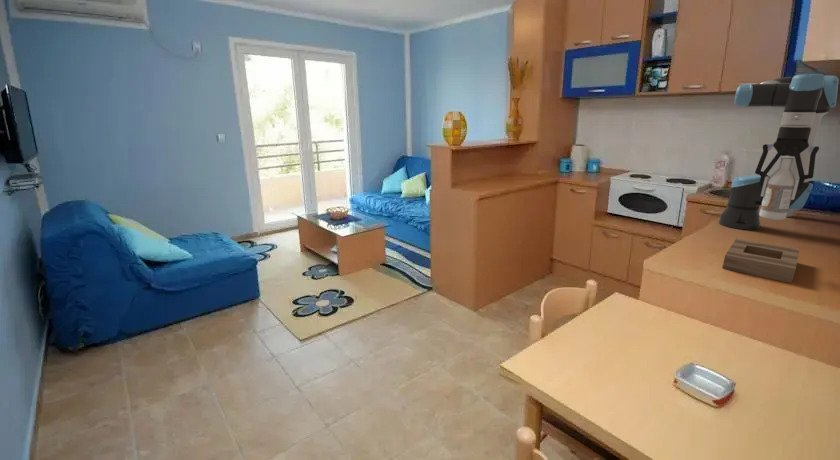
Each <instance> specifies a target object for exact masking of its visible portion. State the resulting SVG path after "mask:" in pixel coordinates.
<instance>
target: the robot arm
mask: <svg viewBox="0 0 840 460" xmlns="http://www.w3.org/2000/svg"><path fill="white" fill-rule="evenodd" d="M838 92H839V78H838V76H836V75H825V74H824V73H823V74H822V73H806V74H805V73H804V74H796V75H793V76H785V77H779V78H774V79H773V78H772V79H769V80H765V81H763V82H760V83H748V84H740V85H738V87H737V88H736V91H735V95H734V103H733V104H734V106H735V107H743V108H752V107H755V108H756V107H761V108H762V107H770V108H771V107H773V108H784V109H783V112H782V118H781V120H780V125H781V126H780V127H779V129H778V133H777V137H776V140H775V141H774V142H773V143H764V144H763V145H762V153H761V155H760V159H759V161H758V163H757V166H756V168H755V171H754V174H751V175H749V174H748V175H739V176H736V177H734V178H733V180H732V183H731V186H730V193H729V197H728V200H727V205H726V208H725V210H724V211H723V212H722V214H721V216H720V217H719V221H718V223H719V225H722V226H724V227H728V228H732V229H738V230H747V231H748V230H749V231H750V230H751V231H753V230H759V229H760V228H761V222H760V221H761V218H760V216H759V213H760V208H761V205H762V201H763V197H764V193H765V189H766V185H767V182H768V179H769V178H770V176H769V175H768V174H769V173H770V171H771V170H772V168H773V167H774V165H775V164H776V163H777V161H778V160H779V159H781V157H782V158H793V162H792V166H791V172H792V173H793V175H794V178H795V186H794V189H793V193H792V197H791V201H790V205H789V208H788V209H794V211H795V210H796V211H798V210H801V209H803V208H804V206H805V204H806V202H807V201H808V199H809V196H810V195H811V194H810V193H811V192H812V189H813V186H814V183H811V182H810V181H811V179H813V178H814V175H815V174H814V173H815V164H816V157H817V156H816V155H817V154H818V152H819V150H820V146H817V145H815V144H816V142H817V141H816V139H817V136H818V133H819V130H820V126H821V122H822V119H823V117H824V116H825V115H827V114H828V113H830V109H833V108H835V107H836V105H837V99H838ZM772 148H774V150H775V151H776V152H777V153H776V154H775V156H774V157H773V158H772V160H770V162H769V163H768V164H767V166H766V167H765V169H764V170H763V171H762V168H763V166H764V163H765V161H766V159H767V156H768V154H769V151H771V150H772ZM767 175H768V176H767Z"/></svg>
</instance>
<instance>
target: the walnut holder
mask: <svg viewBox="0 0 840 460" xmlns="http://www.w3.org/2000/svg"><path fill="white" fill-rule="evenodd" d="M799 254H800V249H799V248H793V247H788V246H782V245H776V244H772V243H767V242H766V243H764V242H760V241H754V240H748V239H742V238H735V239H734V241H733V243H732V244H731V246H730V247H729V248H728V250H727V251H726V253H725V254H724V259H723V264H722V268H721V269H724V270H727V271H731V272H733V271H734V272H736V273H737V272H738V273H741V274H747V275H750V276H751V275H752V276H756V277H760V278H761V277H762V278H765V279H769V280H775V281H778V282H779V281H780V282H784V283H789V284H792V283H793V280H794V276H795V273H796V269H797V265H798V260H799Z"/></svg>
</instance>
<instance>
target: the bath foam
mask: <svg viewBox="0 0 840 460" xmlns="http://www.w3.org/2000/svg"><path fill="white" fill-rule="evenodd" d="M792 162H793V158H783V157H780V162H779V166H778V169H777V170H776V171H774V172H773V173H772V174H771V175H770V176H769V178H768V182H767V185H766V189H765V193H764V197H763V201H762V205H760V208H759V217H761V218H763V219H766V220H774V221H782V220H786V218H787V217H786V215H787V212H788V208H789V205H790V201H791V197H792V193H793V189H794V186H795V178H794V175H793V173H792V172H791V166H792Z"/></svg>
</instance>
